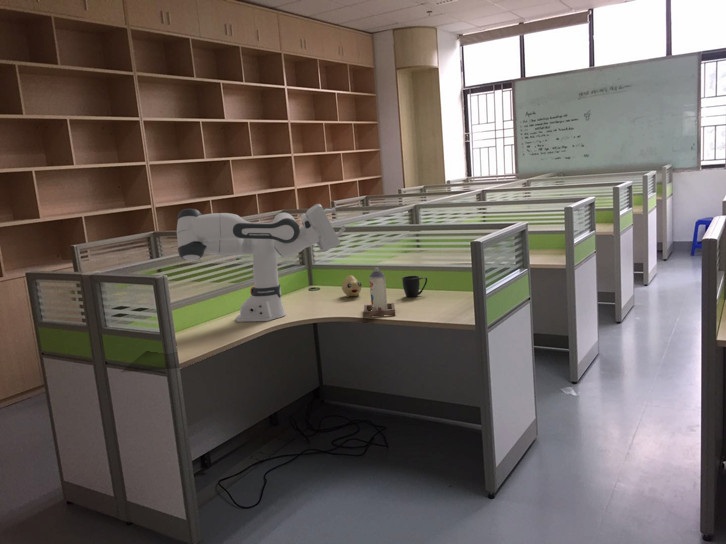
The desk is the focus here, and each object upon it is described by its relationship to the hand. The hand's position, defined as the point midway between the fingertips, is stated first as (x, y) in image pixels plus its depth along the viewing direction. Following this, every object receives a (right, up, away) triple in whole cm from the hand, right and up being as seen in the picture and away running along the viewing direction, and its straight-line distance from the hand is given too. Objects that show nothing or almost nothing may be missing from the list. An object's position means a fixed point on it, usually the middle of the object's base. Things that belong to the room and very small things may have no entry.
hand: (340, 218), depth 260 cm
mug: (+35, -35, +38) cm, 63 cm away
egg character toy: (+5, -35, +49) cm, 61 cm away
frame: (+17, -41, +10) cm, 45 cm away
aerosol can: (+17, -41, +10) cm, 45 cm away
